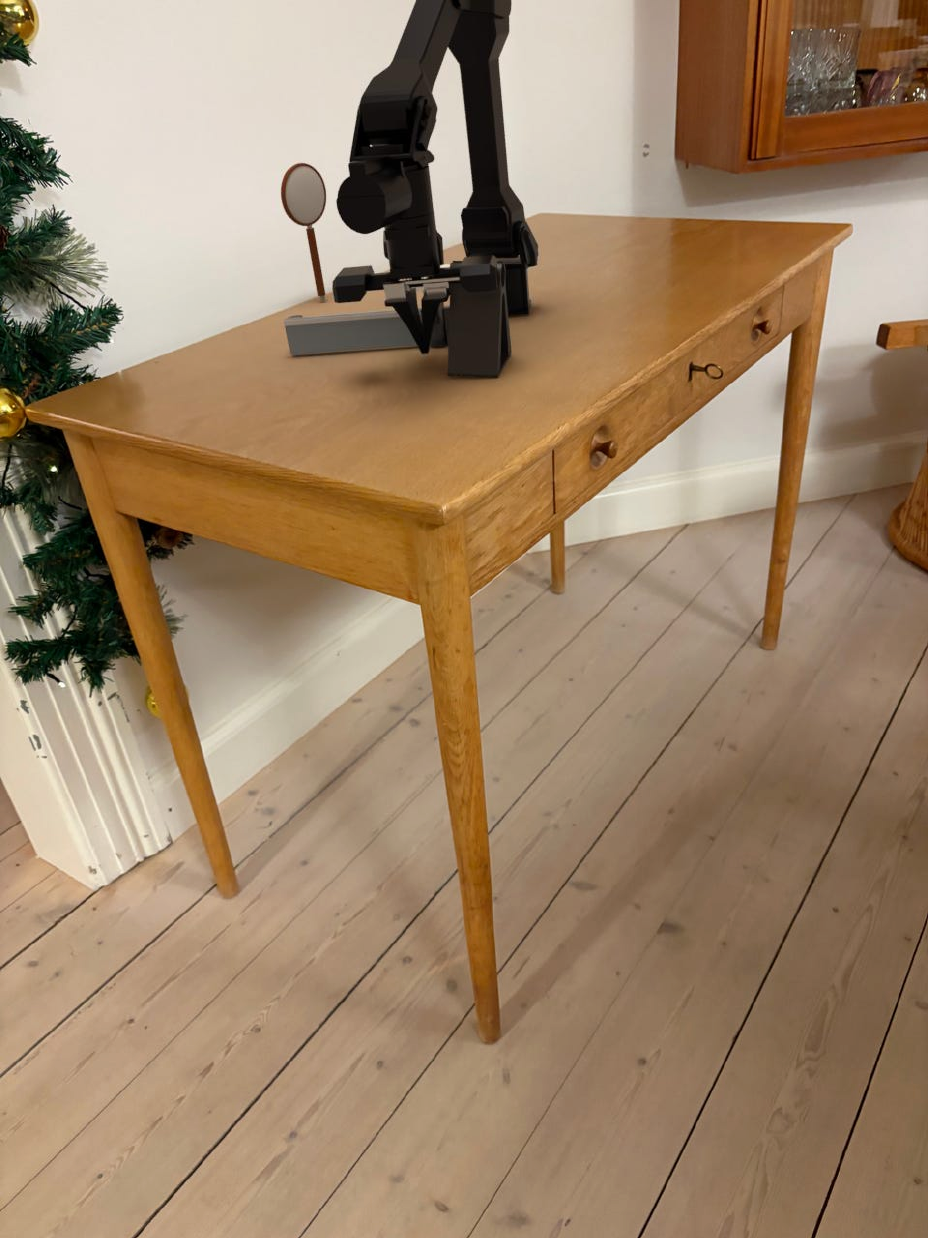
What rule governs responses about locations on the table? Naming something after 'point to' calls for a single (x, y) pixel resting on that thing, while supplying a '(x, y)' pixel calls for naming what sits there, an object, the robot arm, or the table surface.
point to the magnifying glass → (306, 208)
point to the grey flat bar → (347, 332)
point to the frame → (440, 326)
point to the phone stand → (478, 330)
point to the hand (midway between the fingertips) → (425, 352)
